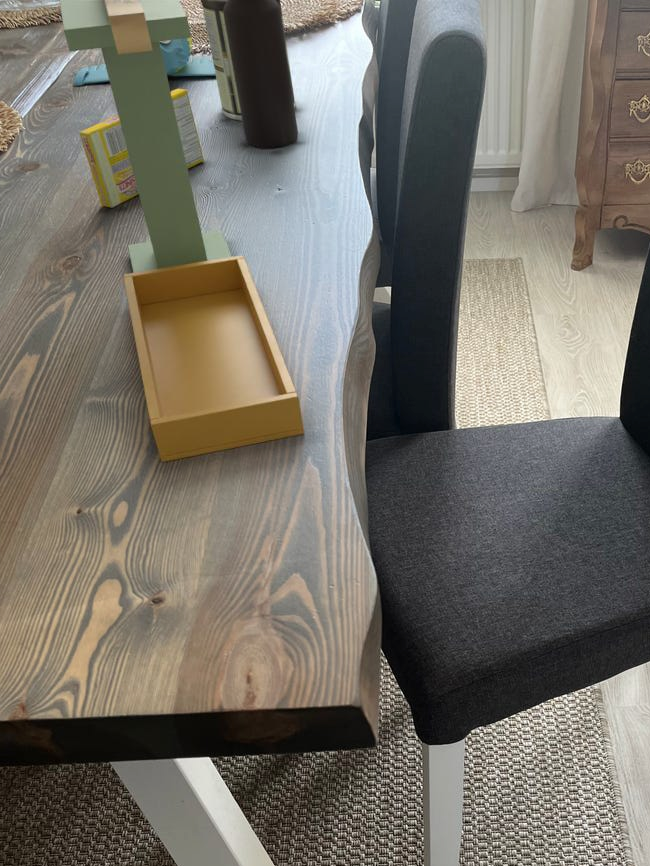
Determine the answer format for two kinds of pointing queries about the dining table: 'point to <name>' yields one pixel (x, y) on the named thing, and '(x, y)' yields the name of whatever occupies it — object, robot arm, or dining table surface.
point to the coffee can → (225, 57)
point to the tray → (209, 359)
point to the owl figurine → (174, 61)
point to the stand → (149, 131)
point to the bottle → (261, 72)
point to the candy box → (113, 158)
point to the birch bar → (128, 26)
